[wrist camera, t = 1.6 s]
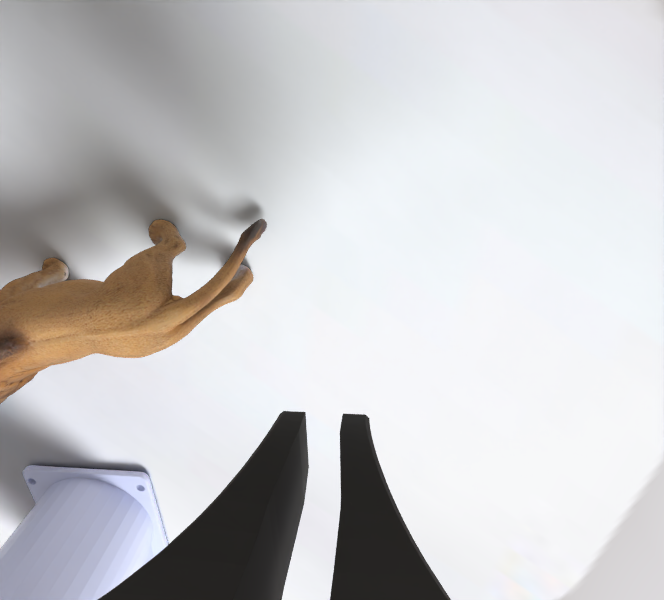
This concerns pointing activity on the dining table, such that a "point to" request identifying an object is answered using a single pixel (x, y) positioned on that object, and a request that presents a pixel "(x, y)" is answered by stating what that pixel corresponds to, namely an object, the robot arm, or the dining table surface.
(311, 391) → the dining table surface
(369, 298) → the dining table surface
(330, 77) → the dining table surface
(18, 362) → the lion figurine
